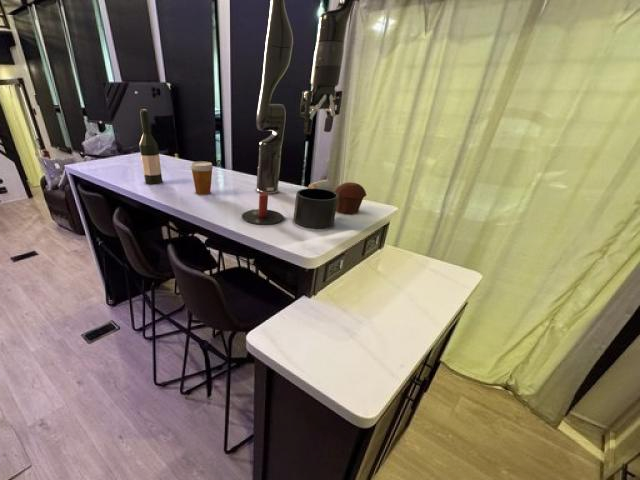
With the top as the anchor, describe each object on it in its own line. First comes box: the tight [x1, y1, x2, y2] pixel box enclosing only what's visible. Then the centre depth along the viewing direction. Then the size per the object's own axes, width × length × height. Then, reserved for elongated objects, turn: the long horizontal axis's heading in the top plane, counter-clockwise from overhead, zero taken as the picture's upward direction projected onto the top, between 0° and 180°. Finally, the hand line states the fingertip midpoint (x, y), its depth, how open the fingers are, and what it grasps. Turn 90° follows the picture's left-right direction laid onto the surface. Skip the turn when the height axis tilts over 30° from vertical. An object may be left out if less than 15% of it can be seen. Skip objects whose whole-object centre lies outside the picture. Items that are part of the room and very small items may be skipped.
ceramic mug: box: [307, 179, 334, 192], centre depth 126 cm, size 11×8×8 cm
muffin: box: [333, 181, 367, 215], centre depth 116 cm, size 12×11×10 cm
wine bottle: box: [139, 108, 164, 186], centre depth 140 cm, size 8×8×30 cm
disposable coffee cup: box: [189, 161, 214, 196], centre depth 132 cm, size 10×10×12 cm
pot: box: [292, 187, 339, 230], centre depth 105 cm, size 14×14×10 cm
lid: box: [241, 193, 284, 226], centre depth 108 cm, size 15×15×9 cm
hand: (317, 132), depth 92 cm, fingers open, 8 cm apart
